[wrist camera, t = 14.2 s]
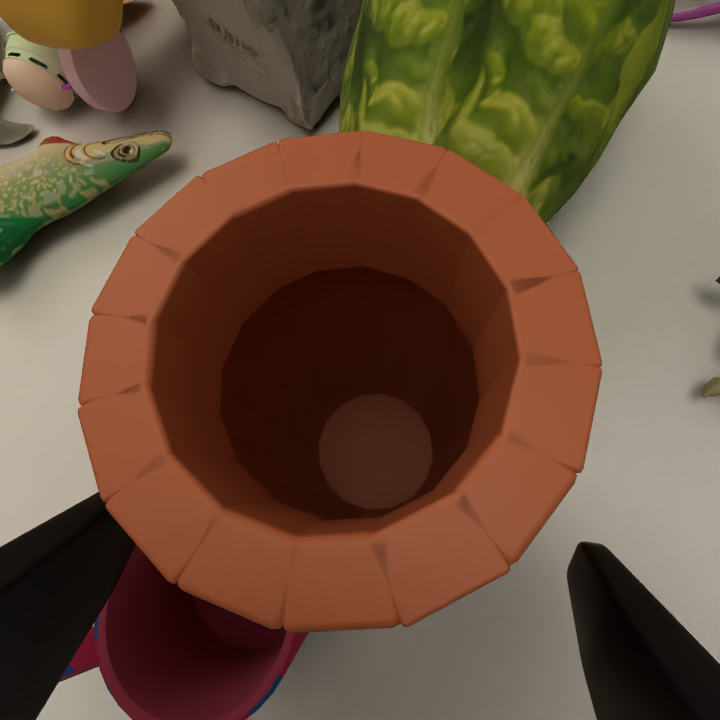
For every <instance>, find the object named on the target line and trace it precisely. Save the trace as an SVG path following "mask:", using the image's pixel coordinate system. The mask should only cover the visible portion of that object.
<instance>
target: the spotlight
mask: <svg viewBox="0 0 720 720" xmlns="http://www.w3.org/2000/svg"><path fill="white" fill-rule="evenodd" d="M133 1H136V0H123V5H124V4H127V3H130V2H133ZM6 42H7V45H6V48H5V53H6V56H5V58H4V59H3V61H2V63H3V72H4V75H5V77H6V79H7V81H8V82H9V84H10V85H11V86H12V89H11V91H12V92H14V91H16V92H17V93H18V94H20V95H21V96H22V97H23V98H25V99H26V100H28V101H29V102H31V103H33V104H35V105H37V106H40V107H42V108H45V109H49V110H63V109H66V108H68V107H69V106H70V105H71V104H72V103H73V102H74V96H75V94H78V95H79V96H80V97H81V98H82V99H83V100H84V101H85V102H86V103H88V104H89V105H91V106H92V107H94V108H96V109H99V110H104V111H115V112H117V111H122V110H124V109H126V108H127V107H129V105H130V104H131V103H132V101H133V99H134V96H135V93H136V87H137V75H136V68H135V63H134V59H133V56H132V53H131V51H130V48H129V46H128V44H127V42H126V40H125V39H124V37H123V35H122V34H121V33H120V31H118V33H117V35H116V36H114V37H113V38H111V39H110V40H109V41H106V42H104V43H101V44H98V45H95V46H92V47H89V48H85V49H77V50H70V49H59V48H52V47H47V46H42V45H38V44H35V43H32V42H29V41H27V40H26V39H24V38H22V37H21V36H20V35H18V34H17V33H16V32H15V31H11V32H8V33H7V34H6Z"/></svg>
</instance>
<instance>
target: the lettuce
mask: <svg viewBox="0 0 720 720" xmlns="http://www.w3.org/2000/svg"><path fill="white" fill-rule="evenodd" d="M674 4H675V0H363V1H362V6H361V11H360V16H359V19H358V22H357V26H356V29H355V32H354V35H353V39H352V42H351V45H350V49H349V52H348V55H347V59H346V64H345V70H344V76H343V82H342V87H341V93H340V122H339V133H343V132H353V131H361V132H362V133H363V132H364V131H371V132H376V133H380V134H385V135H389V136H394V137H399V138H403V139H408V140H412V141H417V142H422V143H426V144H431V145H435V146H440V147H444V148H446V149H447V151H448V150H451V151H453V152H455V153H456V154H458V155H460V156H461V157H463V158H464V159H466V160H468V161H469V162H471V163H472V164H474V165H476V166H477V167H479V168H481V169H482V170H484V171H485V172H487V173H489V174H490V175H492V176H493V177H495V178H497V179H498V180H500V181H502V182H503V183H505V184H506V185H508V186H510V187H511V188H513V189H514V190H516V191H518V192H519V193H520V194H521V195H522V197H525V198H526V199H527V200H528V201H529V203H530V204H531V205H532V207H533V208H534V209H535V211H536V212H537V213H538V215H539V216H540V217H541V219H542V220H543V221H544V223H545V224H546V223H547V222H548V221H549V220H550V219H551V218H552V217H553V216H554V215H555V214H556V213H557V211H558V210H559V209H560V208H561V207H562V206H563V205H564V204H565V203H566V202H567V201H568V200H569V199H570V198H571V197H572V196H573V195H574V193H575V192H576V190H577V189H578V188H579V186H580V185H581V183H582V182H583V181H584V179H585V178H586V176H587V175H588V173H589V172H590V171H591V169H592V168H593V166H594V165H595V164H596V162H597V161H598V159H599V158H600V156H601V154H602V153H603V151H604V149H605V147H606V146H607V144H608V142H609V140H610V139H611V137H612V135H613V133H614V132H615V130H616V128H617V126H618V125H619V123H620V121H621V120H622V118H623V117H624V115H625V114H626V112H627V111H628V110H629V108H630V107H631V105H632V104H633V102H634V101H635V99H636V98H637V97H638V95H639V94H640V92H641V91H642V89H643V88H644V86H645V85H646V84H647V82H648V81H649V79H650V78H651V76H652V75H653V73H654V72H655V70H656V67H657V64H658V61H659V57H660V54H661V51H662V47H663V44H664V41H665V38H666V34H667V31H668V28H669V25H670V21H671V18H672V13H673V9H674Z"/></svg>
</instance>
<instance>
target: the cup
mask: <svg viewBox="0 0 720 720" xmlns="http://www.w3.org/2000/svg"><path fill="white" fill-rule="evenodd" d="M308 633H309V632H298V633H292V632H289V631H287V630H285V629H284V627H283V625H282V627H281V628H280V629H270V628H268V627H266V626H263V625H261V624H259V623H256V622H254V621H252V620H249V619H247V618H245V617H242V616H240V615H238V614H236V613H233V612H231V611H229V610H226V609H224V608H222V607H219V606H217V605H215V604H212V603H210V602H208V601H206V600H203V599H201V598H199V597H196V596H194V595H192V594H189V593H187V592H185V591H183V590H182V589H181V588H180V587H179V586H178V583H175V584H172V583H170V582H168V581H167V580H166V579H165V577H164V576H163V575H162V574H161V573H160V571H159V570H158V569H157V568H156V567H155V566H154V564H153V563H152V562H151V561H150V560H149V559H148V557H147V556H146V555H145V554H144V553H143V551H142V550H141V549H140V548H139V547H138V546H137V544H136V546H135V548H134V550H133V552H132V555H131V557H130V559H129V561H128V563H127V565H126V567H125V569H124V571H123V573H122V575H121V577H120V579H119V581H118V583H117V585H116V587H115V589H114V590H113V592H112V594H111V596H110V597H109V599H108V601H107V603H106V604H105V606H104V608H103V609H102V611H101V612H100V614H99V616H98V617H97V619H96V621H95V625H94V627H91V629H90V631H89V632H88V634H87V636H86V637H85V639H84V641H83V642H82V644H81V646H80V647H79V649H78V651H77V652H76V654H75V656H74V657H73V659H72V661H71V662H70V664H69V666H68V667H67V669H66V670H65V672H64V674H63V675H62V677H61V679H60V680H59V682H61V681H63V680H66V679H68V678H71V677H73V676H76V675H78V674H81V673H83V672H86V671H88V670H91V669H93V668H96V667H98V666H99V668H100V672H101V674H102V676H103V679H104V681H105V683H106V686H107V688H108V690H109V692H110V693H111V695H112V696H113V698H114V699H115V701H116V702H117V704H118V705H119V706H120V707H121V709H122V710H123V711H124V712H125V713H126V714H127V715H128V716H129V717H130V718H131V719H132V720H246V719H247V718H248V717H249V716H251V715H252V714H253V713H254V712H256V711H257V710H258V709H259V708H260V707H261V706H262V705H263V704H264V702H265V701H266V700H267V699H268V698H269V697H270V696H271V695H272V693H273V692H274V690H275V689H276V687H277V686H278V684H279V683H280V681H281V679H282V678H283V676H284V675H285V673H286V671H287V669H288V668H289V666H290V664H291V662H292V661H293V659H294V657H295V655H296V654H297V652H298V650H299V648H300V647H301V645H302V643H303V641H304V640H305V638H306V636H307V634H308Z"/></svg>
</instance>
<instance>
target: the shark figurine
mask: <svg viewBox="0 0 720 720" xmlns="http://www.w3.org/2000/svg"><path fill="white" fill-rule="evenodd" d="M3 59H4V52H3V44H2V40H1V36H0V80H1V79H5V78H6V77H5V75H4V72H3V63H2V61H3ZM33 129H34V126H33V125H29V124H17V123H13V122H9V121H6V120H4V119H2V118H0V145H5V144H11V143H14V142H16V141H18V140H20V139H22V138H24V137H25V136H27V135H28V134H29V133H31V132H32V131H33Z"/></svg>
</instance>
